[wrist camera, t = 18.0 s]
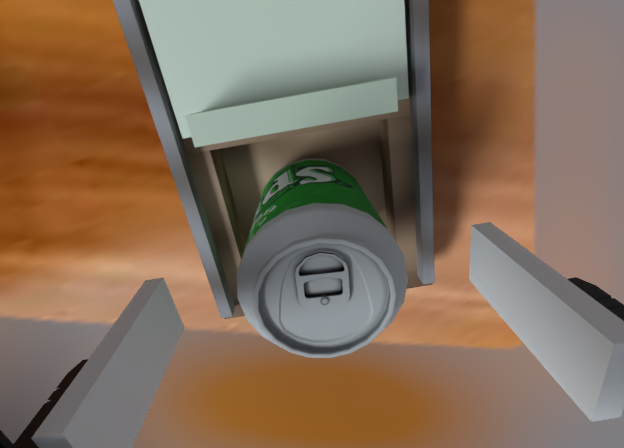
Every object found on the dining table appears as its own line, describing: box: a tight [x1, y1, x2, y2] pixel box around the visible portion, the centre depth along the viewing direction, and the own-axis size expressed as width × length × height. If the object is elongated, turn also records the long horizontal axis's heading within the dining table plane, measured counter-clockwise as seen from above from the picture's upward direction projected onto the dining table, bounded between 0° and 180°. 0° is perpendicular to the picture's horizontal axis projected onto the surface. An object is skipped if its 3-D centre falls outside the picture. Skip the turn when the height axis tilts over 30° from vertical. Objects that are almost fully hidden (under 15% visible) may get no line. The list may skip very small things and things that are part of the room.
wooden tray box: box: [113, 0, 435, 319], centre depth 21 cm, size 23×16×4 cm
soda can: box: [237, 158, 408, 358], centre depth 19 cm, size 8×8×12 cm
